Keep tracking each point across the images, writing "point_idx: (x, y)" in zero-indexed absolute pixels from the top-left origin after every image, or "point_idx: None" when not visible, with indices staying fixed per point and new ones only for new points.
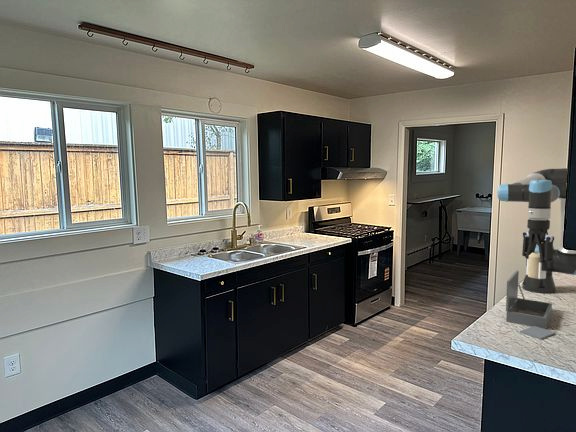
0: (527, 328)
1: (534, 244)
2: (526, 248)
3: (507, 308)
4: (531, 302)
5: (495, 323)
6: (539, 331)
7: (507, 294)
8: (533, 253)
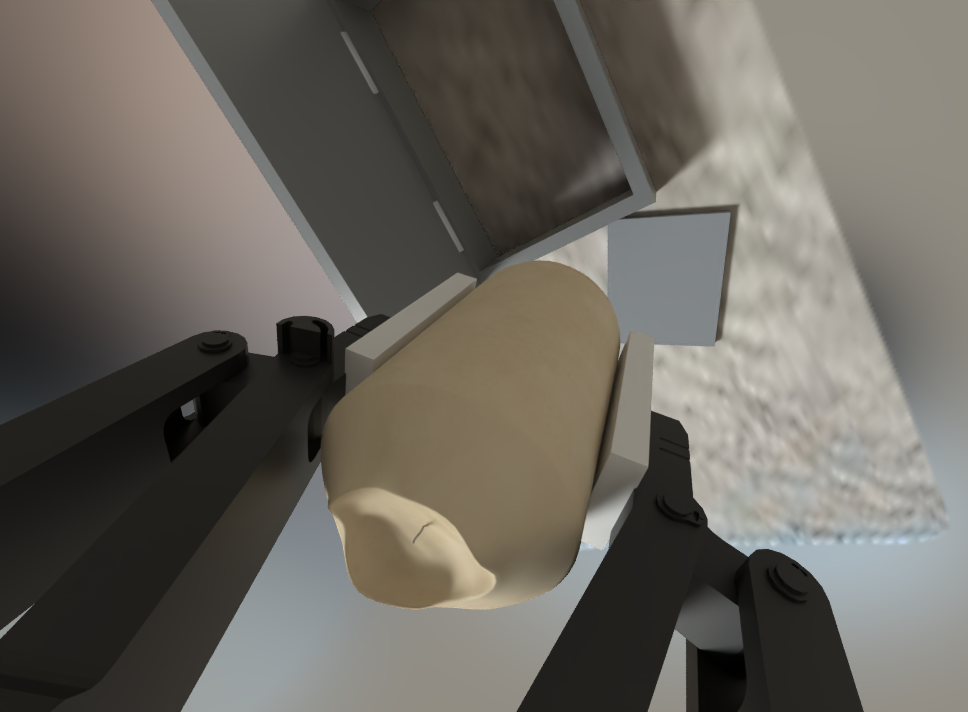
0: (609, 287)
1: (134, 699)
2: (130, 495)
3: None
4: None
5: None
6: (666, 274)
7: None
8: (402, 604)
